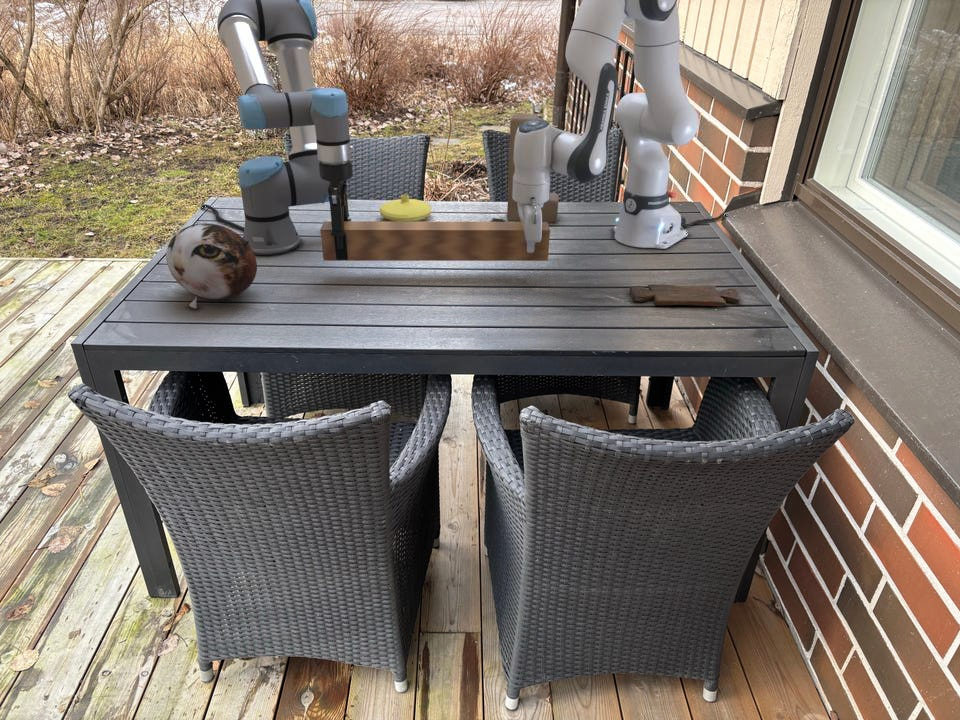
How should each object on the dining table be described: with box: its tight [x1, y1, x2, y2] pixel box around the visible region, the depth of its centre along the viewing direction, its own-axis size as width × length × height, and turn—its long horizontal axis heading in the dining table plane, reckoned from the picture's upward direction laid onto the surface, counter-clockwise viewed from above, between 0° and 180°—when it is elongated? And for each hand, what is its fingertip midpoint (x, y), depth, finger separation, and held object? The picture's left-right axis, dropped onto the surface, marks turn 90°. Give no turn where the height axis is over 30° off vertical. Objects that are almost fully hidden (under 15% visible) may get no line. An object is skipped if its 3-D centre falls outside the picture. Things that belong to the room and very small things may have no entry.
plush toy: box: [165, 222, 258, 309], centre depth 165 cm, size 22×18×20 cm
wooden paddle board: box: [629, 284, 740, 307], centre depth 171 cm, size 26×2×10 cm
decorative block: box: [506, 112, 560, 223], centre depth 211 cm, size 8×15×30 cm, turn 82°
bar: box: [319, 220, 551, 262], centre depth 176 cm, size 55×6×8 cm, turn 92°
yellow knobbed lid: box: [378, 194, 433, 222], centre depth 215 cm, size 16×16×7 cm
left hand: (343, 253), depth 176 cm, fingers closed on bar, 6 cm apart
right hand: (528, 246), depth 177 cm, fingers closed on bar, 5 cm apart
